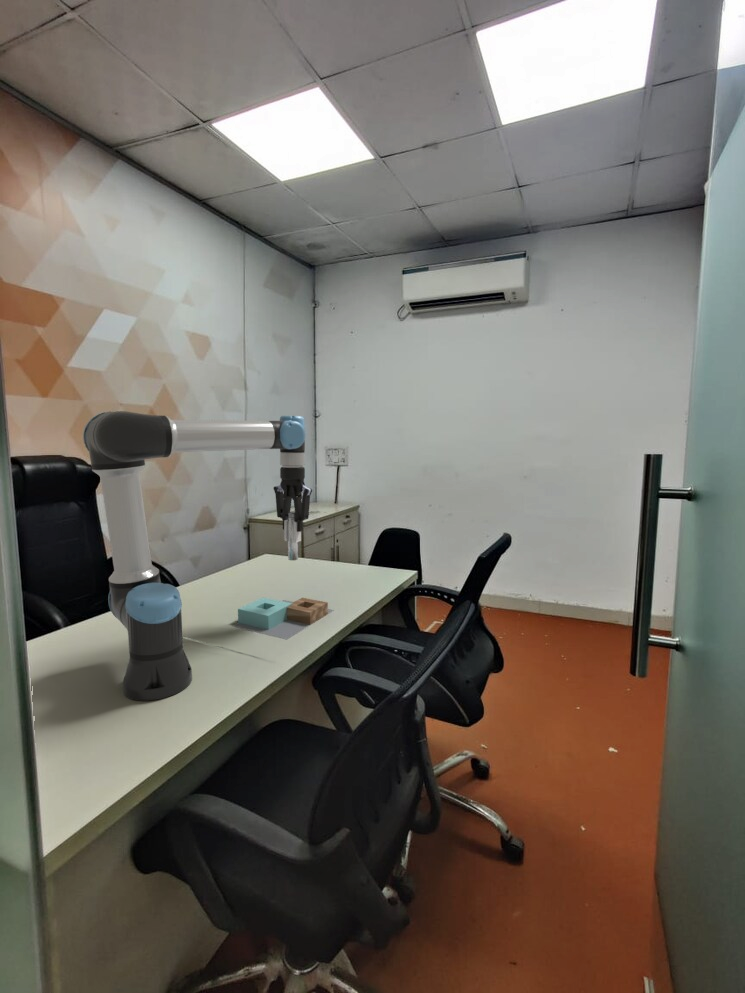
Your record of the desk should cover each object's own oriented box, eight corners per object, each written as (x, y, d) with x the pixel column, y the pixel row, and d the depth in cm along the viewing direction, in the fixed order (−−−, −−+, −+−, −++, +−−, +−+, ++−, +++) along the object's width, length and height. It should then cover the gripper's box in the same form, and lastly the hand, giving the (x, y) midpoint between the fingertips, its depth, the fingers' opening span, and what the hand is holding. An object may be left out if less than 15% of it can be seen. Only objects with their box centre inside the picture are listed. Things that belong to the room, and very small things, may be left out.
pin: (293, 560, 150) (293, 513, 149) (286, 559, 152) (286, 512, 150) (299, 558, 153) (299, 511, 151) (292, 557, 155) (291, 511, 153)
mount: (310, 624, 149) (310, 612, 149) (284, 619, 154) (284, 607, 153) (327, 614, 158) (327, 602, 158) (302, 608, 163) (302, 597, 162)
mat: (286, 641, 139) (286, 639, 139) (231, 627, 148) (231, 625, 148) (334, 611, 162) (334, 610, 162) (283, 601, 171) (283, 599, 171)
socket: (268, 629, 146) (268, 615, 145) (238, 622, 151) (237, 609, 150) (292, 616, 156) (292, 603, 156) (263, 610, 162) (263, 597, 161)
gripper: (321, 467, 148) (320, 541, 151) (279, 464, 156) (280, 536, 159) (306, 468, 142) (306, 546, 145) (264, 465, 149) (264, 540, 152)
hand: (292, 540), depth 152 cm, fingers closed on pin, 3 cm apart
